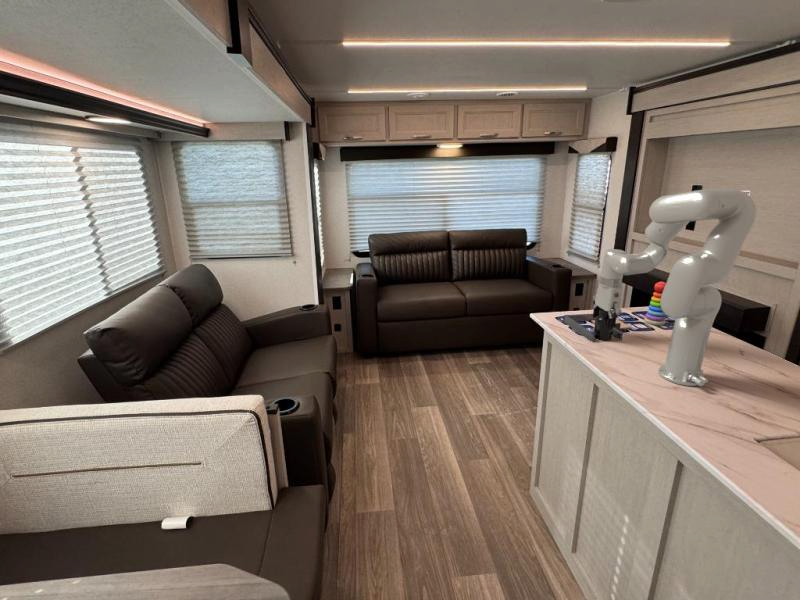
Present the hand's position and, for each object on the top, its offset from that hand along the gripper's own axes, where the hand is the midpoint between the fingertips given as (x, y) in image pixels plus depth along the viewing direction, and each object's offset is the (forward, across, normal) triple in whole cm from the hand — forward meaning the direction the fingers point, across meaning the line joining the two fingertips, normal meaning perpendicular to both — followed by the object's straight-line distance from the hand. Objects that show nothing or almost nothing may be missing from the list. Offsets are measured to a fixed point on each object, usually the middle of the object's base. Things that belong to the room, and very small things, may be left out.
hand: (603, 322), depth 162 cm
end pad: (+7, +12, -12) cm, 19 cm away
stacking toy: (+7, +11, -32) cm, 35 cm away
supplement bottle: (+7, -1, 0) cm, 7 cm away
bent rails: (+7, +7, -3) cm, 10 cm away
